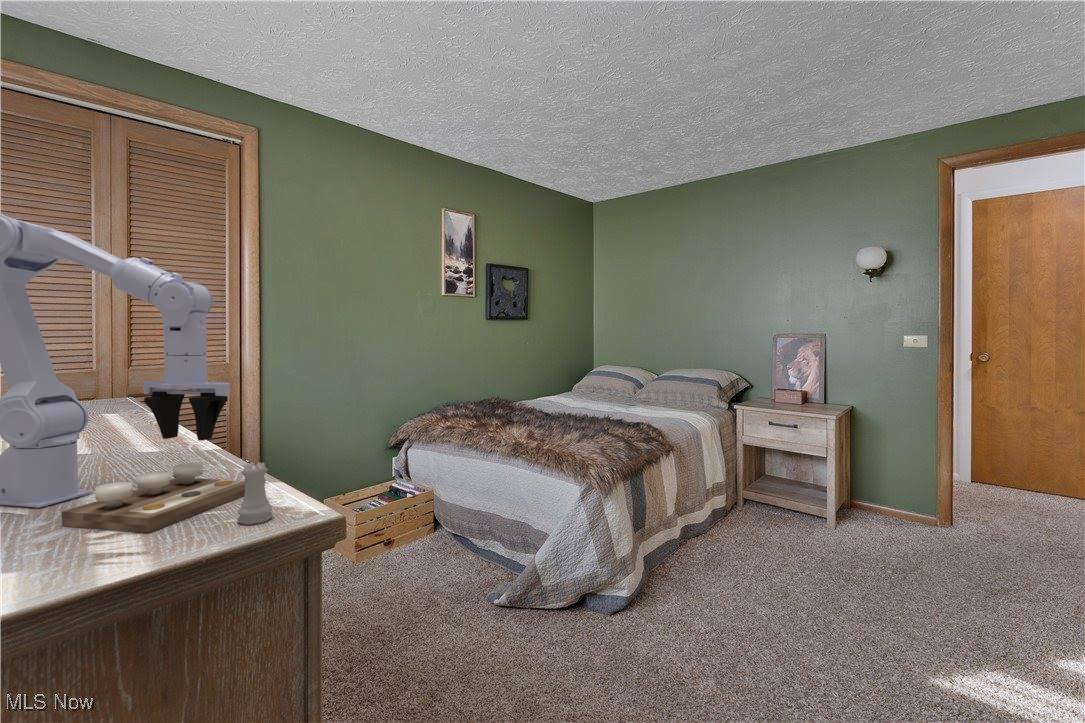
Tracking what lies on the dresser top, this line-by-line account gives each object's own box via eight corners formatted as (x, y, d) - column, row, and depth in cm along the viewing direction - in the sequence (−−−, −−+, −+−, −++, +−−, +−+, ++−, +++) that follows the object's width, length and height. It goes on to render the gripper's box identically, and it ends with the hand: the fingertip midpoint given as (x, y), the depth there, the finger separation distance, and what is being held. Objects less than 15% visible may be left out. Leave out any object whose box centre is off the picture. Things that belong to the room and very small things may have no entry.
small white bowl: (166, 485, 81) (166, 467, 81) (188, 478, 85) (188, 462, 85) (188, 486, 80) (188, 468, 80) (209, 479, 84) (208, 463, 84)
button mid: (130, 496, 75) (130, 477, 75) (155, 488, 79) (154, 470, 79) (153, 497, 75) (152, 478, 74) (177, 489, 78) (176, 472, 78)
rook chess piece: (257, 527, 69) (256, 469, 69) (229, 524, 70) (228, 467, 70) (280, 516, 73) (279, 461, 73) (253, 513, 74) (253, 459, 74)
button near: (87, 509, 69) (87, 488, 69) (116, 500, 73) (116, 481, 73) (112, 510, 69) (111, 490, 68) (140, 501, 73) (139, 482, 72)
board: (62, 525, 69) (61, 507, 69) (178, 488, 87) (178, 474, 87) (149, 533, 66) (148, 514, 66) (250, 493, 84) (250, 478, 84)
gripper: (124, 355, 79) (126, 441, 80) (204, 356, 77) (205, 445, 77) (164, 354, 86) (166, 433, 87) (239, 355, 84) (240, 436, 84)
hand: (187, 438), depth 82 cm, fingers open, 6 cm apart
